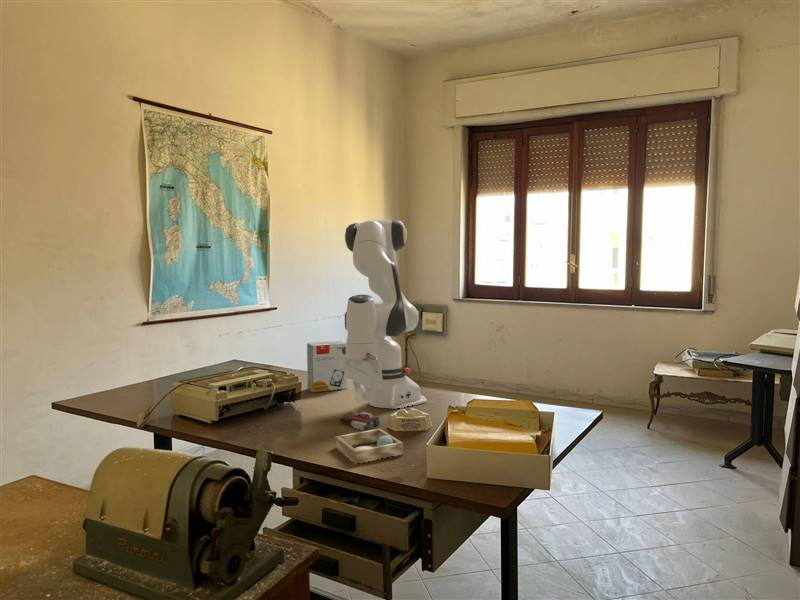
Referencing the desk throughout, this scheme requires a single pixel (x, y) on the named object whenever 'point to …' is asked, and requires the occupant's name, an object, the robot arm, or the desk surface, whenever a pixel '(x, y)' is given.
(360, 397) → the cream ball
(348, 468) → the desk surface
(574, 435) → the desk surface
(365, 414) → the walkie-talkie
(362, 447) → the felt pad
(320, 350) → the hard drive box
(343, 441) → the shallow open tray
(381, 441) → the blue ball
